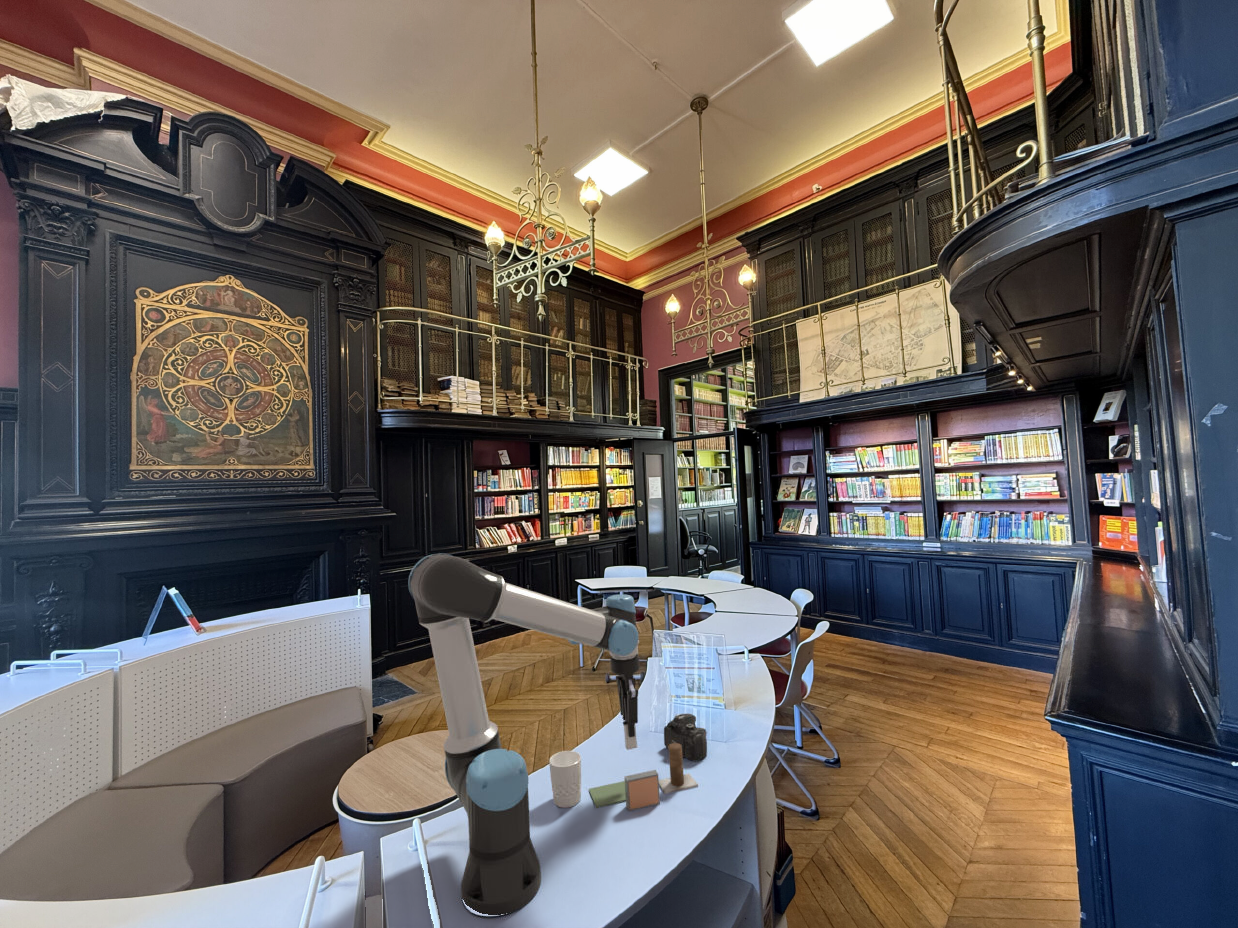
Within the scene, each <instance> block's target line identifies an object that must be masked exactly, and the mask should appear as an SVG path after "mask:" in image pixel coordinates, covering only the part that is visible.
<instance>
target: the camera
mask: <svg viewBox="0 0 1238 928" xmlns="http://www.w3.org/2000/svg"><path fill="white" fill-rule="evenodd" d="M696 722H697V717H696V716H695V715H694V714H693V713H692V714H691V713H681V714H680V713H679V714H676V715H675V717H673V719H672V720H670V721H669V722H667V725H665V726H664V728H663V743H664V746H665V748H667V749H669V747H668V746H669V745H670V744H672V743H678V744H681V746H682V758H686V759H688V760H691V761H693V762H698V761H701V760H703V759H705V758H706V757H707V755H708V740H707V733H708V732H707V730H706V728H703V727H697V725H696Z"/></svg>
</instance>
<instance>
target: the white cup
mask: <svg viewBox="0 0 1238 928" xmlns="http://www.w3.org/2000/svg"><path fill="white" fill-rule="evenodd" d="M548 761H549V769H550V771H549V773H550V782H551V791H552V798H553V799H552V800H553V803H554V805H555V806H557V807H558V808H564V809H565V808H572V807H573V806H576V805H577V804H578V803H579V802H580V801H581V798H582V795H581V793H582V791H581V790H582V757H581V754H580V753H579V752H578V751H574V750H573V751H572V750H562V751H559V752H557V753H555V754H553V755H551V757H550V758H549V759H548Z"/></svg>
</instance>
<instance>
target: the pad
mask: <svg viewBox="0 0 1238 928" xmlns="http://www.w3.org/2000/svg"><path fill="white" fill-rule="evenodd" d="M588 791H589V794H590V796H591V798H592V801H593V804H594V807H595V809H598V808H602V807H606V806H610V805H615V804H619V803H625V802H626V795H625V780H622V781H619V782H615V783H611V784H610V783H609V784H608V783H607V784H604V785H600V786H596V787H590V788H588Z"/></svg>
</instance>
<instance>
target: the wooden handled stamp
mask: <svg viewBox="0 0 1238 928" xmlns="http://www.w3.org/2000/svg"><path fill="white" fill-rule="evenodd" d="M668 747H669V748H668V762H669V772H670V773H669V775H670V777H668V778H662V779H659V788H660V789H661V790H662V793H664V795H668V794H672V793H677V792H680V791H685V790H689V789H694V788H697V787H699V784H698V783H697V781H696V780H695V779H694V778H693V776H692V775H691V774H690V773H685V774H684V763H683V760H684V759H683V756H682V746H681V744H678V743H672V744H670V745H669V746H668Z"/></svg>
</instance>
